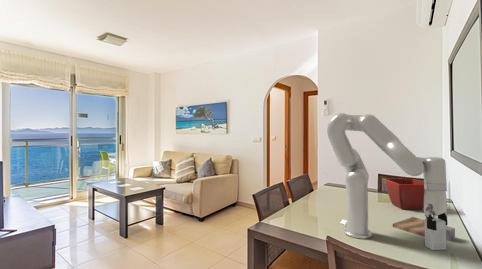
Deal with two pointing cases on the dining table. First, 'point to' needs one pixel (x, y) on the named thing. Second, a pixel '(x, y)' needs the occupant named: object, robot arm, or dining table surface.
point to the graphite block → (450, 233)
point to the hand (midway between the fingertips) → (437, 226)
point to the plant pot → (406, 193)
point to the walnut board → (412, 225)
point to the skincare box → (436, 235)
